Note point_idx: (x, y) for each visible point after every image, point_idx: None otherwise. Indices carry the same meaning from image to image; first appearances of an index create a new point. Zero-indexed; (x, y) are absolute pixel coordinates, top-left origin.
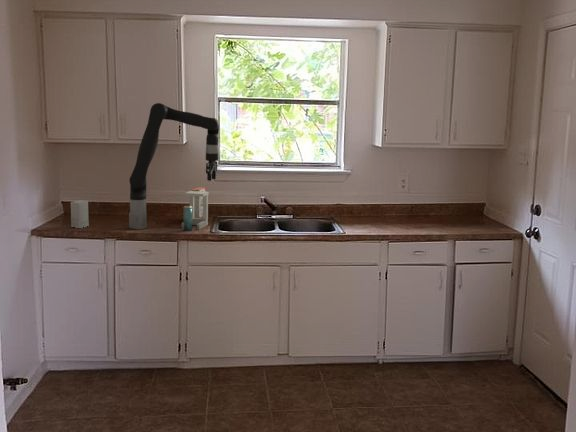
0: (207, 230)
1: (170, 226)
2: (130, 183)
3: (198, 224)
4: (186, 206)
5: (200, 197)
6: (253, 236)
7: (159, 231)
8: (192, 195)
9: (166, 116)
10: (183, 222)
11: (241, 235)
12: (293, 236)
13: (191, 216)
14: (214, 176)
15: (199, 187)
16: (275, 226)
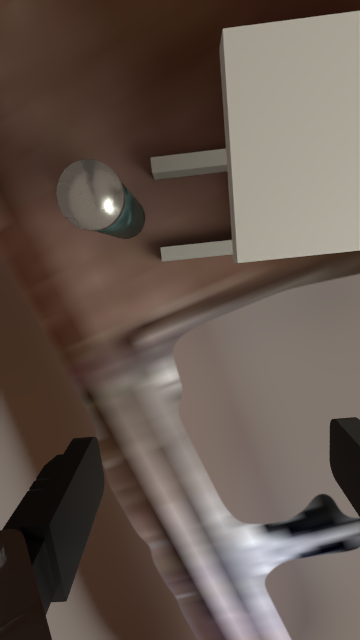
0: (158, 304)
1: (170, 84)
2: None
3: (161, 256)
4: (91, 180)
5: None
6: (130, 506)
7: (30, 97)
8: (227, 145)
9: None
10: (176, 156)
11: (126, 463)
12: (192, 617)
13: (104, 233)
14: (354, 492)
15: None
16: (356, 524)
